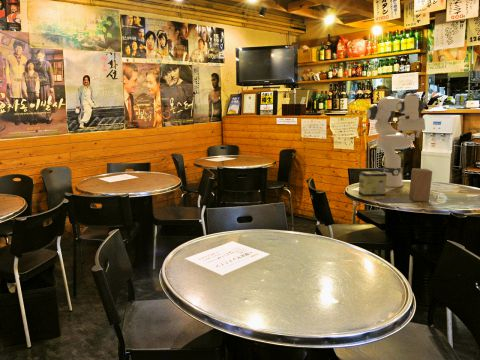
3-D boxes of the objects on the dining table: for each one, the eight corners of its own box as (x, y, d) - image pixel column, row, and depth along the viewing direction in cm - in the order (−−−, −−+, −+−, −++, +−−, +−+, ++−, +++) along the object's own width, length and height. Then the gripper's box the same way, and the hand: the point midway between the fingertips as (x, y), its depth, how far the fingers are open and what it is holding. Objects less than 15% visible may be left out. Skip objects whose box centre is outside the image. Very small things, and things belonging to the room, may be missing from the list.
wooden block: (424, 198, 283) (427, 168, 279) (429, 201, 273) (432, 171, 269) (408, 197, 284) (411, 168, 280) (413, 201, 274) (416, 170, 270)
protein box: (358, 193, 299) (359, 171, 296) (379, 192, 301) (380, 171, 298) (363, 196, 289) (364, 173, 286) (385, 196, 290) (387, 173, 288)
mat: (374, 198, 282) (374, 198, 282) (405, 198, 284) (405, 197, 284) (382, 203, 270) (382, 202, 269) (415, 202, 272) (415, 202, 271)
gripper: (421, 117, 300) (421, 137, 301) (396, 117, 295) (396, 137, 296) (427, 116, 294) (427, 136, 295) (402, 116, 289) (401, 137, 290)
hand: (411, 137), depth 295 cm, fingers open, 8 cm apart
